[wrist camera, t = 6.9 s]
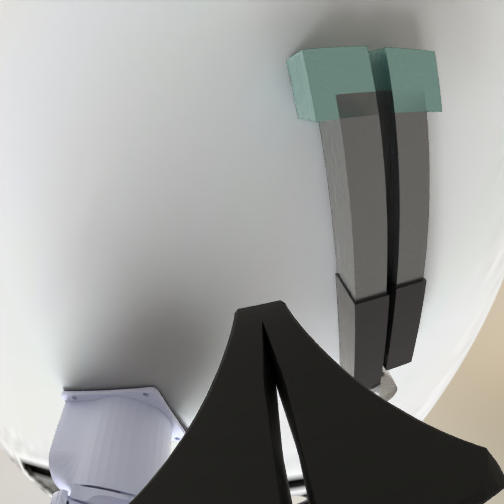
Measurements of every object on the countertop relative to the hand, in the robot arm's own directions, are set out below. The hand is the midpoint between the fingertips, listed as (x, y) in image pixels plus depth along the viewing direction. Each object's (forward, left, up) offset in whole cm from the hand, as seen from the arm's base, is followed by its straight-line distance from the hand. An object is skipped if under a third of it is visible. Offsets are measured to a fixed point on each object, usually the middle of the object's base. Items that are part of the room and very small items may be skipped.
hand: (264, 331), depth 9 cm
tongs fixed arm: (+9, -1, -8) cm, 12 cm away
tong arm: (+6, -3, -8) cm, 10 cm away
